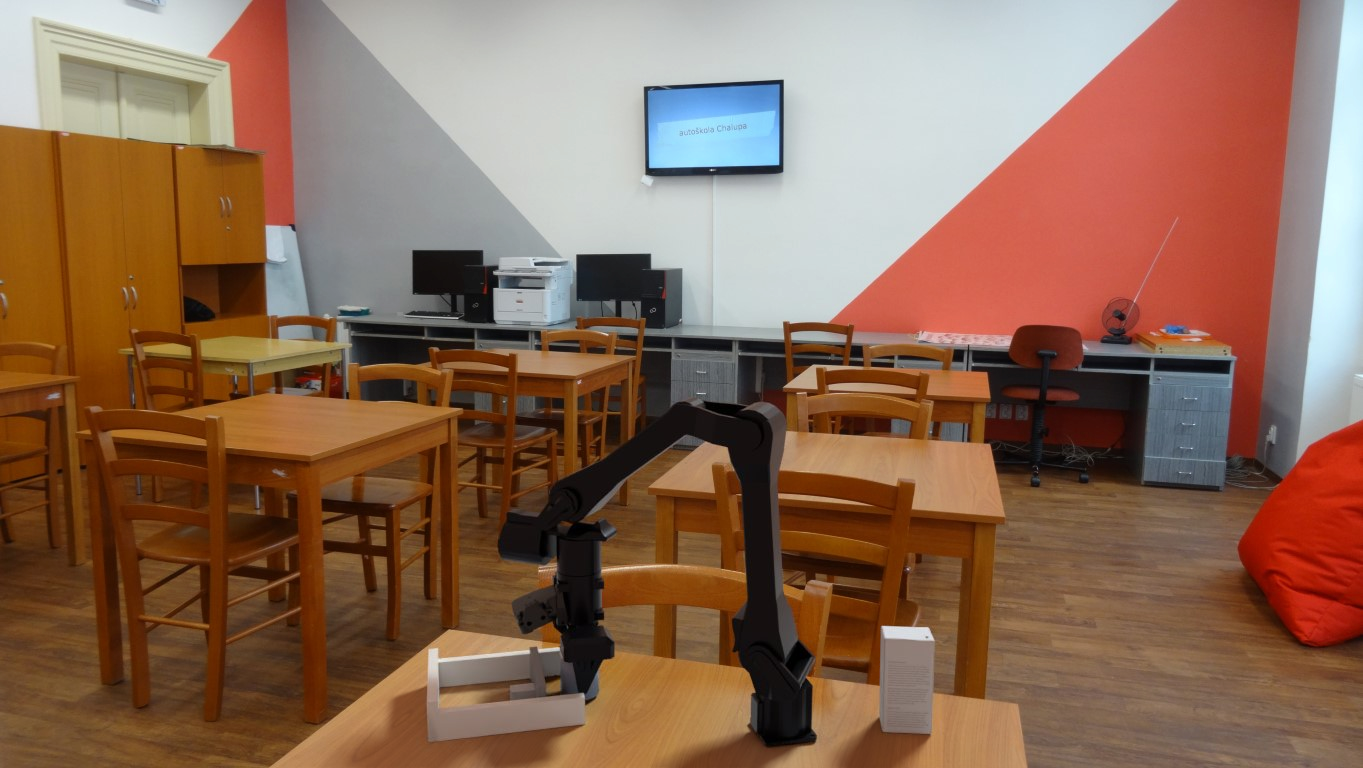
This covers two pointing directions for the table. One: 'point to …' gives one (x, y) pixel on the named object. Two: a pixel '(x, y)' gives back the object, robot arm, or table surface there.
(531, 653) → the pusher
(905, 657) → the skincare box
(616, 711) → the table surface
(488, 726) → the lane
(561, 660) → the jar
